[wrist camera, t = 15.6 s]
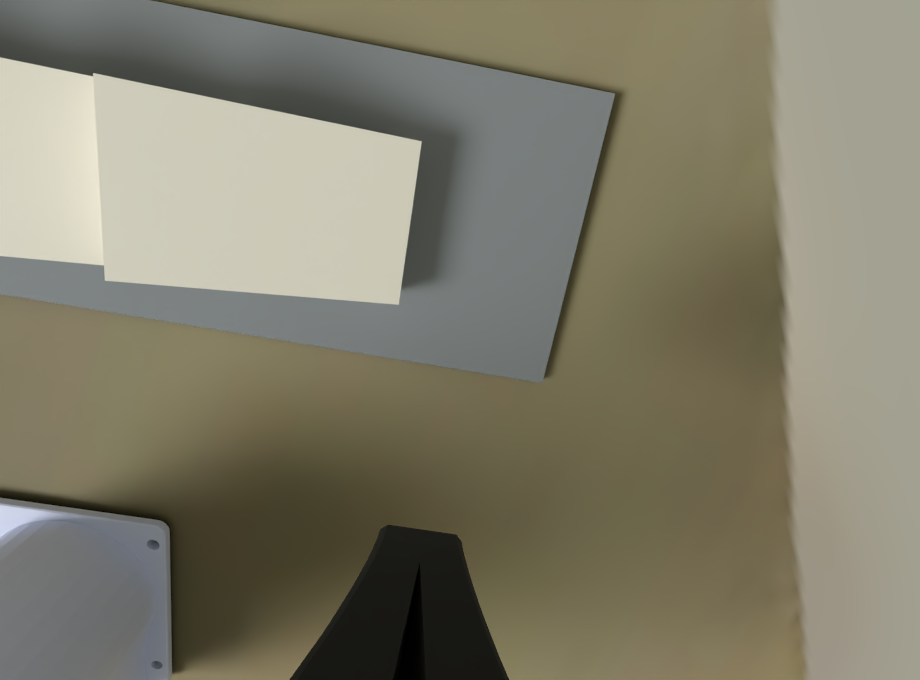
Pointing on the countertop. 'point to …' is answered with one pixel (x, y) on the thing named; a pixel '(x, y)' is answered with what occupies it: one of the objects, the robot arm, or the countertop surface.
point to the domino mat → (371, 108)
